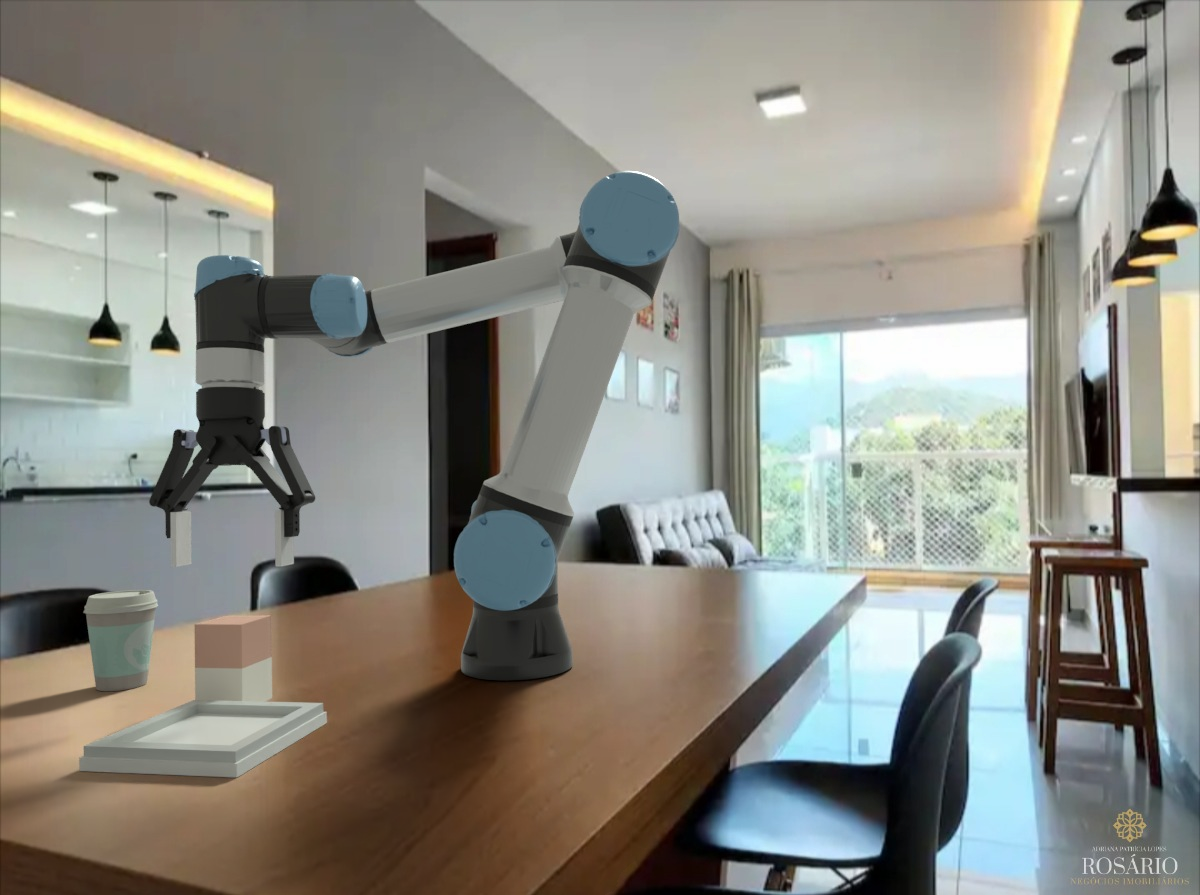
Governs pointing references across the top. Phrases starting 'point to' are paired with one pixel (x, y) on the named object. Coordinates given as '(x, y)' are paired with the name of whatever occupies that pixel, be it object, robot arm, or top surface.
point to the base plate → (205, 738)
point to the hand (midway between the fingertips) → (232, 565)
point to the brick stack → (234, 658)
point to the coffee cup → (121, 637)
